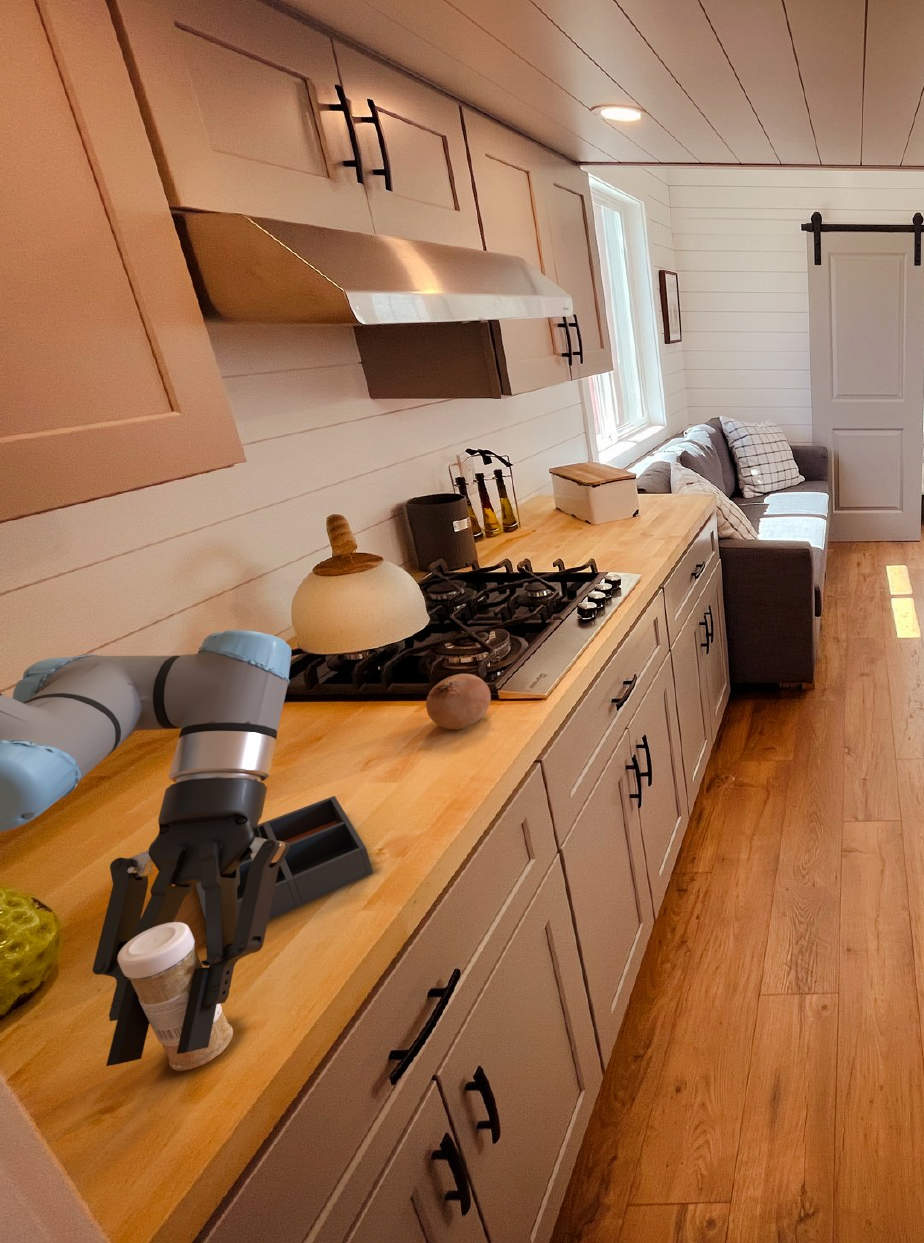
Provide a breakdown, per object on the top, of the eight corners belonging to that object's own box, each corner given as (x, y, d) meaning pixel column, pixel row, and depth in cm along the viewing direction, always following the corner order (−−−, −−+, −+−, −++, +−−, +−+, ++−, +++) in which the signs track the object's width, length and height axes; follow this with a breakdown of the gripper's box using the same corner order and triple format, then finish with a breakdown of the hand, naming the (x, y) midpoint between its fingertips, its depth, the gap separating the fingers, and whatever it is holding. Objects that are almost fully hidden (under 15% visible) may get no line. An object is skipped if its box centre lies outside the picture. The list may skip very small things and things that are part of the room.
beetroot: (455, 751, 118) (421, 718, 110) (438, 716, 123) (405, 682, 116) (509, 717, 121) (480, 683, 114) (491, 685, 127) (462, 650, 119)
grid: (215, 945, 77) (204, 917, 76) (197, 877, 86) (186, 851, 85) (373, 873, 87) (366, 847, 86) (342, 819, 97) (334, 795, 95)
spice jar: (247, 1027, 68) (202, 919, 63) (204, 1074, 64) (153, 962, 59) (200, 1026, 68) (152, 919, 64) (154, 1073, 64) (99, 961, 59)
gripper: (337, 779, 76) (297, 1030, 66) (144, 799, 72) (73, 1069, 63) (297, 765, 69) (247, 1043, 60) (82, 787, 65) (-7, 1087, 56)
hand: (158, 1055), depth 61 cm, fingers closed on spice jar, 4 cm apart
